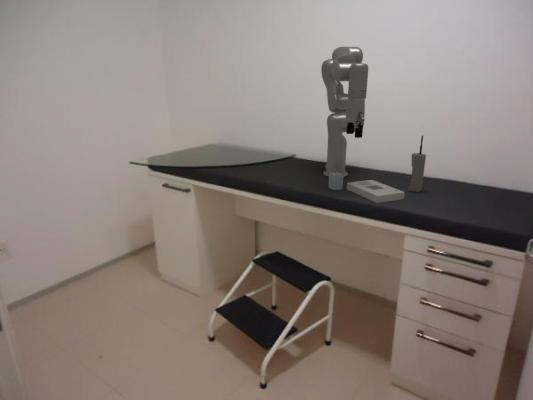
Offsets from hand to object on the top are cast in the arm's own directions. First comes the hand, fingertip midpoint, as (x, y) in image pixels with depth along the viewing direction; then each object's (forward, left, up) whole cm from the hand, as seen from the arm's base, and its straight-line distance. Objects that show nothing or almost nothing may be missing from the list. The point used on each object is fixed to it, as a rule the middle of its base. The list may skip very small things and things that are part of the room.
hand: (354, 135), depth 172 cm
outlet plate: (+8, +7, -25) cm, 27 cm away
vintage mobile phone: (+11, +27, -25) cm, 38 cm away
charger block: (-6, -4, -25) cm, 26 cm away
